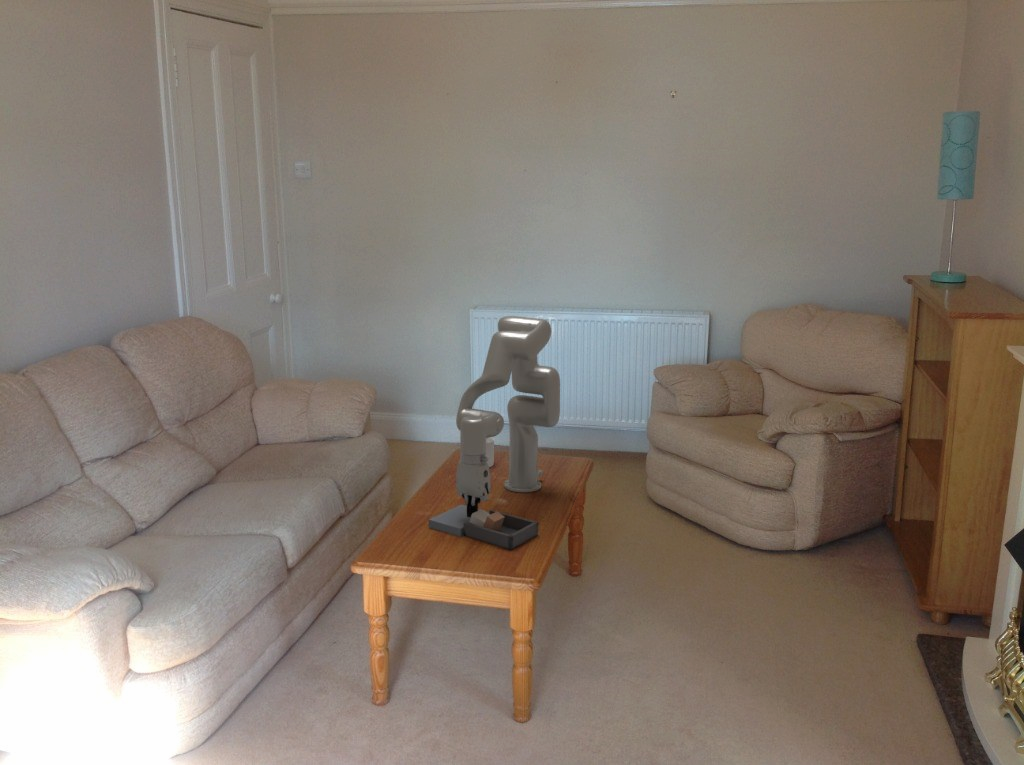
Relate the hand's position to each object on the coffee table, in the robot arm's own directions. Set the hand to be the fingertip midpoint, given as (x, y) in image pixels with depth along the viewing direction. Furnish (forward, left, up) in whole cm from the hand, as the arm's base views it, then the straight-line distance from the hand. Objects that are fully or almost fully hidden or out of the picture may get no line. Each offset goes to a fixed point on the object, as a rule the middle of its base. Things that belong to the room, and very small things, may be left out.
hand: (472, 516), depth 289 cm
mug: (-52, -34, -4) cm, 62 cm away
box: (0, +10, -4) cm, 11 cm away
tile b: (0, +7, 0) cm, 7 cm away
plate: (0, -4, -4) cm, 6 cm away
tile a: (0, +3, -2) cm, 4 cm away
